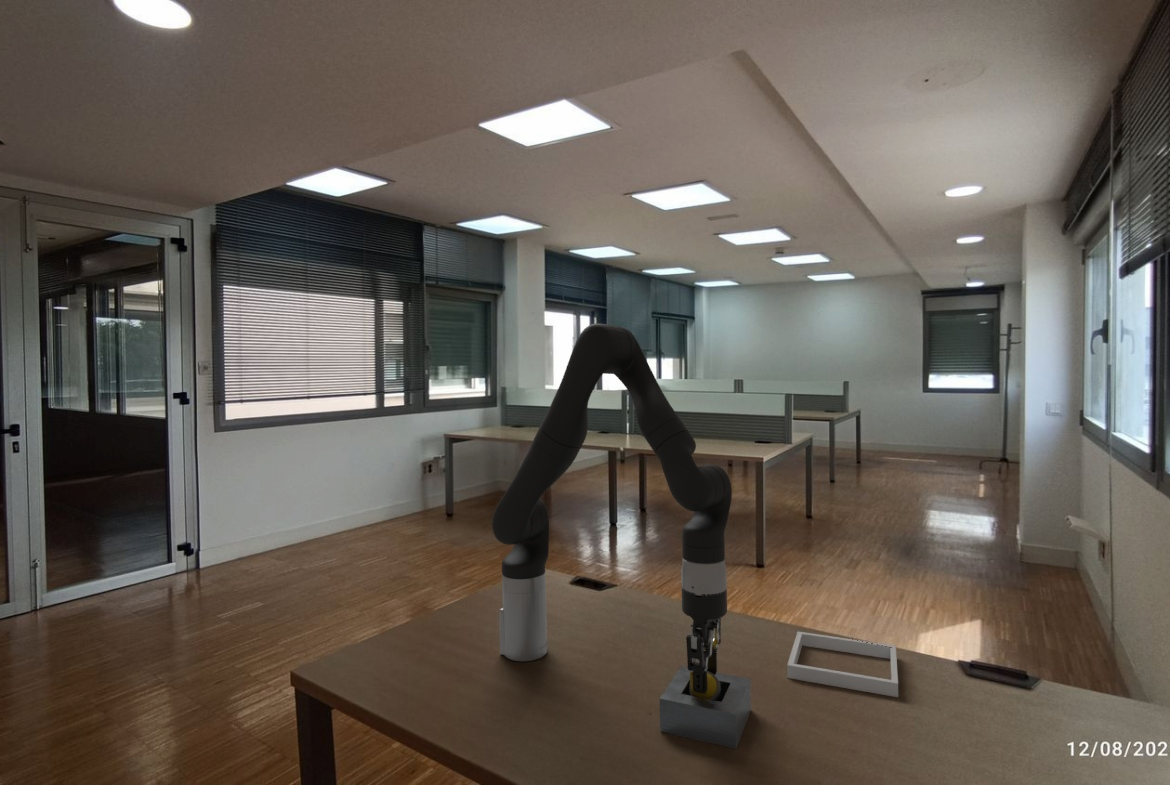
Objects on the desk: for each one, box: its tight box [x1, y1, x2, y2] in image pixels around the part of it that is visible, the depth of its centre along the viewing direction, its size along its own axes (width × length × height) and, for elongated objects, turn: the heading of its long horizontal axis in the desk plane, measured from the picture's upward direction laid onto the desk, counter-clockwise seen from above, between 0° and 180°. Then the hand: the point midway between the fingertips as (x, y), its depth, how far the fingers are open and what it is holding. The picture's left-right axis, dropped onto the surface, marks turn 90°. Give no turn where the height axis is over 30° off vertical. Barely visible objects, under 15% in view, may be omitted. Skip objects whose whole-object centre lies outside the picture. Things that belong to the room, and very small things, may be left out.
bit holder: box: [659, 665, 752, 750], centre depth 106 cm, size 12×12×6 cm
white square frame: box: [786, 631, 899, 698], centre depth 123 cm, size 19×17×2 cm
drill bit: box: [689, 671, 721, 701], centre depth 106 cm, size 5×5×10 cm
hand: (705, 682), depth 105 cm, fingers closed on drill bit, 6 cm apart
